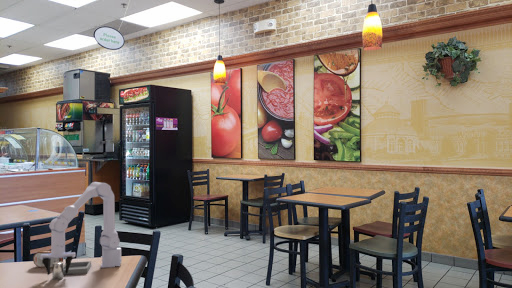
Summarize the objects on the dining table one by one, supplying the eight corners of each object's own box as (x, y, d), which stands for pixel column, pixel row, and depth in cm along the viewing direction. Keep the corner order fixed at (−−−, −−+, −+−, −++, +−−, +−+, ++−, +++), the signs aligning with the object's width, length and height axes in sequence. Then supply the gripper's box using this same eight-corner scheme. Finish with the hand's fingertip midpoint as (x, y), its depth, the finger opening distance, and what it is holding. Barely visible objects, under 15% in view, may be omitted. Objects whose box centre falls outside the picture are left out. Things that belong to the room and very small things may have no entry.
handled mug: (64, 276, 182) (64, 261, 182) (61, 280, 177) (61, 265, 177) (53, 277, 181) (54, 262, 181) (50, 281, 176) (50, 265, 176)
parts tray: (91, 265, 198) (91, 261, 198) (87, 273, 186) (87, 268, 186) (65, 267, 195) (65, 262, 195) (60, 275, 183) (60, 270, 183)
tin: (63, 266, 197) (63, 250, 197) (59, 268, 193) (60, 252, 193) (36, 265, 198) (36, 249, 198) (31, 267, 195) (32, 251, 195)
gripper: (38, 247, 174) (38, 277, 174) (73, 245, 178) (73, 275, 178) (42, 243, 181) (42, 272, 181) (76, 241, 184) (76, 270, 184)
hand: (57, 273), depth 180 cm, fingers open, 7 cm apart
